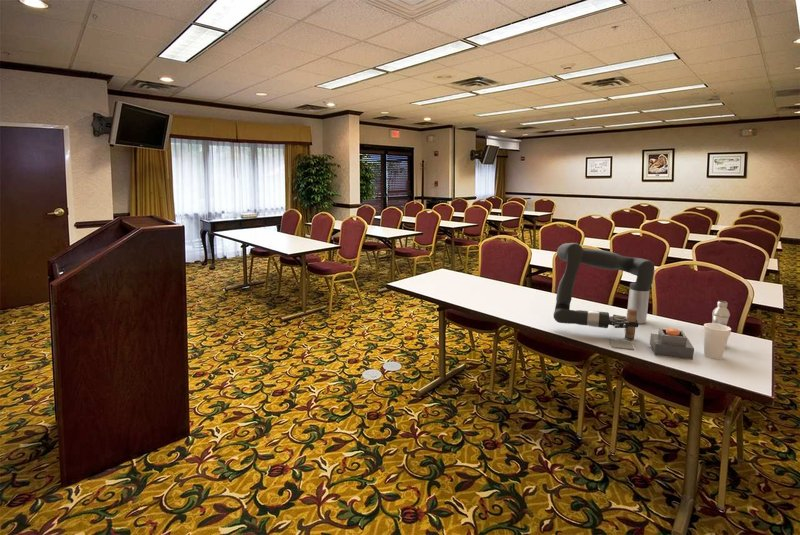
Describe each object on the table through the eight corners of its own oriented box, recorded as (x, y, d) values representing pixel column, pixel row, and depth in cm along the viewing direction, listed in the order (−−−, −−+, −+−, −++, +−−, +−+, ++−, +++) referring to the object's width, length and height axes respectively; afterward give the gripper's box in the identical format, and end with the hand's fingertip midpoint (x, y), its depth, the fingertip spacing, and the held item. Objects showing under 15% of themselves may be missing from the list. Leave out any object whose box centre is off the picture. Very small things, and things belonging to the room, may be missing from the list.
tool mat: (610, 339, 208) (610, 338, 207) (631, 342, 204) (631, 341, 204) (611, 347, 198) (611, 346, 198) (634, 350, 195) (634, 348, 195)
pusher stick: (624, 336, 212) (627, 308, 209) (633, 337, 210) (636, 309, 207) (625, 339, 208) (628, 310, 205) (634, 340, 207) (637, 311, 204)
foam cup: (701, 349, 195) (705, 321, 193) (727, 355, 190) (731, 326, 187) (698, 356, 188) (702, 327, 185) (725, 362, 182) (730, 332, 180)
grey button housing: (649, 343, 203) (651, 326, 201) (685, 347, 198) (687, 329, 196) (654, 355, 190) (656, 336, 188) (692, 359, 185) (695, 340, 183)
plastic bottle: (721, 342, 204) (727, 300, 200) (727, 347, 198) (734, 304, 194) (705, 341, 206) (711, 299, 202) (711, 346, 199) (717, 303, 195)
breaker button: (664, 333, 195) (665, 327, 195) (677, 334, 194) (678, 328, 193) (666, 336, 191) (667, 331, 190) (680, 338, 189) (680, 332, 188)
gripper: (598, 316, 205) (640, 320, 199) (597, 307, 218) (636, 311, 212) (597, 331, 207) (638, 336, 201) (596, 322, 220) (635, 326, 214)
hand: (637, 323), depth 207 cm, fingers closed on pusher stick, 4 cm apart
